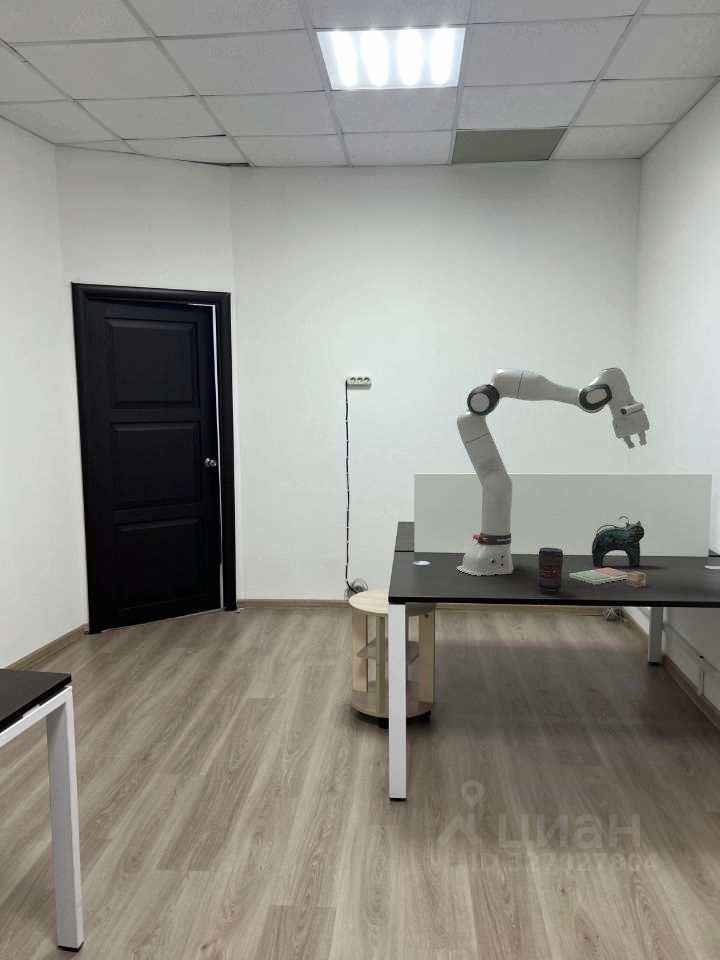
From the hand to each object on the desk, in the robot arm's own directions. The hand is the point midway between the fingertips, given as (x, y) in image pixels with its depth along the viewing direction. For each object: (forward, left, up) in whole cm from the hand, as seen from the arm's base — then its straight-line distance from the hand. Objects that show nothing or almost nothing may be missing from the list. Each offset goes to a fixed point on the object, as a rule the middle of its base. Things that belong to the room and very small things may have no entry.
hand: (637, 446), depth 260 cm
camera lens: (-38, +2, -49) cm, 62 cm away
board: (-7, +8, -49) cm, 50 cm away
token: (-5, -6, -49) cm, 50 cm away
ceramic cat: (+12, +18, -49) cm, 54 cm away
